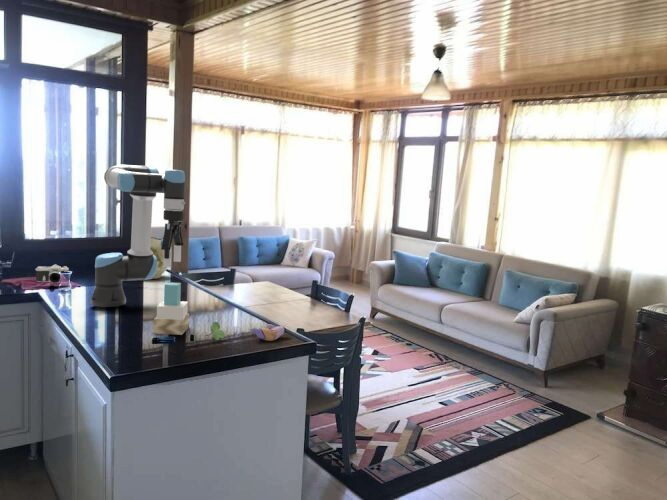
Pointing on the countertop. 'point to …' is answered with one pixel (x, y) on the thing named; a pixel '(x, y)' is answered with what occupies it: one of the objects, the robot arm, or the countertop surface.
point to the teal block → (172, 293)
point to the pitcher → (158, 256)
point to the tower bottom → (171, 326)
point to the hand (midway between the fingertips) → (172, 264)
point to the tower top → (172, 311)
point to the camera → (49, 273)
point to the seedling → (214, 329)
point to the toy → (269, 332)
